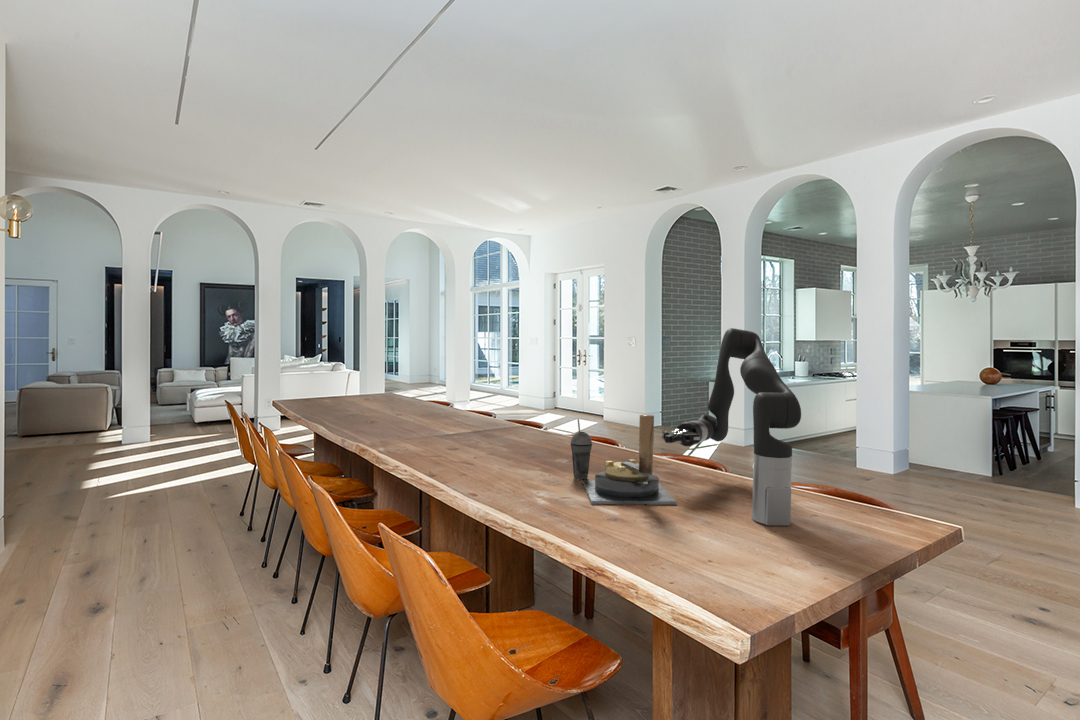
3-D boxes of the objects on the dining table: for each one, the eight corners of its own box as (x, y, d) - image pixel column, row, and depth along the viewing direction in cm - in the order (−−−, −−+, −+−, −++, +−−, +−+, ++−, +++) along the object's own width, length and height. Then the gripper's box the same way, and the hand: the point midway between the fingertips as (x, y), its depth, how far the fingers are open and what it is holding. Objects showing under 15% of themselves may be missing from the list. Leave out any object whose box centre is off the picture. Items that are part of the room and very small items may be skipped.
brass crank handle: (598, 473, 181) (599, 409, 181) (635, 470, 186) (636, 407, 185) (628, 488, 163) (629, 417, 162) (669, 485, 167) (670, 415, 167)
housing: (676, 504, 166) (676, 486, 166) (591, 504, 165) (591, 485, 165) (657, 484, 190) (657, 467, 190) (582, 483, 189) (583, 467, 189)
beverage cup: (592, 481, 193) (593, 420, 192) (570, 480, 193) (571, 419, 192) (590, 476, 200) (592, 417, 199) (569, 475, 200) (570, 417, 199)
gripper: (673, 419, 193) (647, 424, 179) (712, 423, 185) (688, 429, 171) (672, 442, 193) (647, 449, 180) (711, 447, 185) (688, 454, 171)
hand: (667, 439), depth 175 cm, fingers closed
